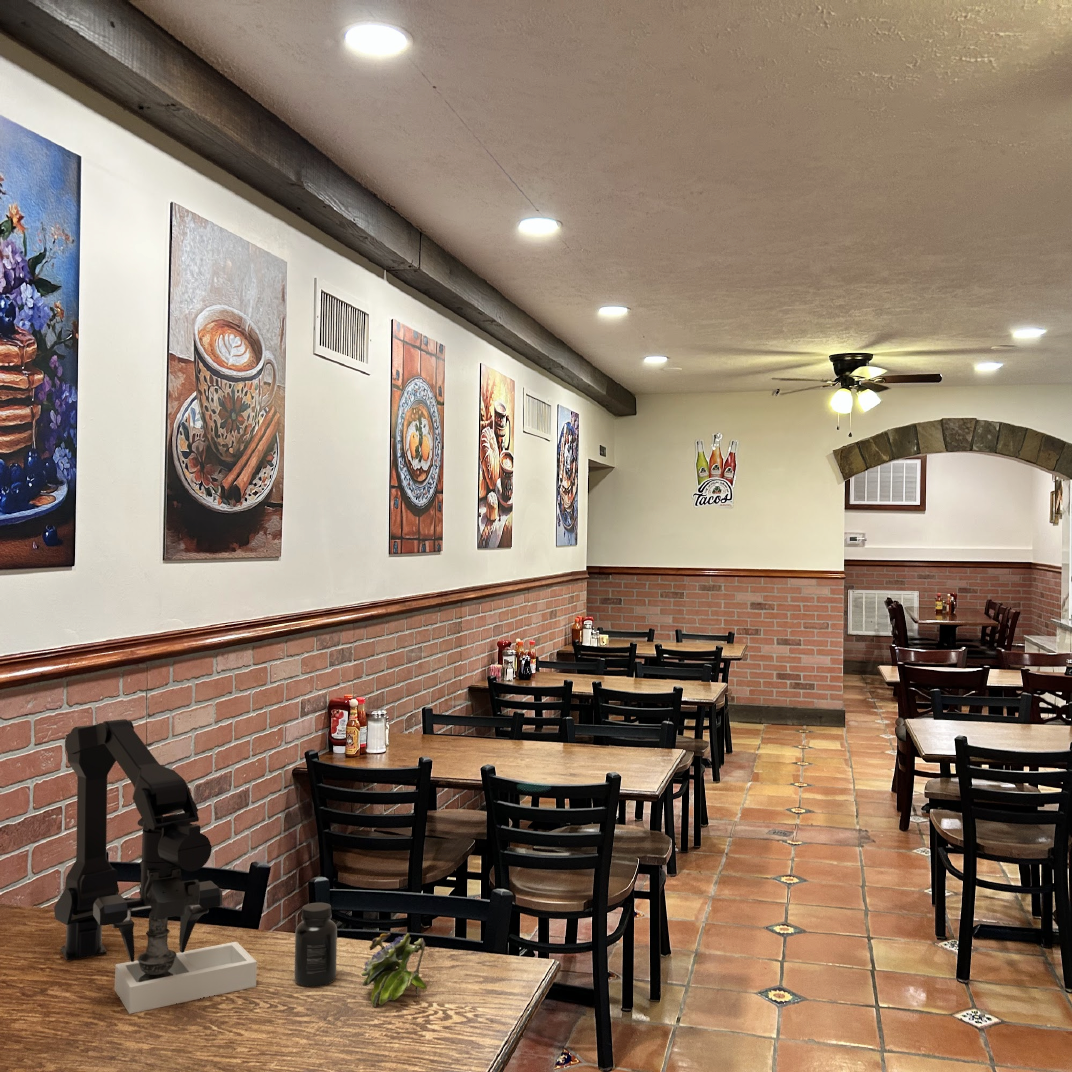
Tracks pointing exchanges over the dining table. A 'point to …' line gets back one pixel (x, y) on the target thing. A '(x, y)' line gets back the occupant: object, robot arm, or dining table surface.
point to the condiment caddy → (187, 977)
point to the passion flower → (392, 968)
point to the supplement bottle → (315, 946)
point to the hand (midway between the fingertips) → (157, 956)
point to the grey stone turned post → (156, 951)
